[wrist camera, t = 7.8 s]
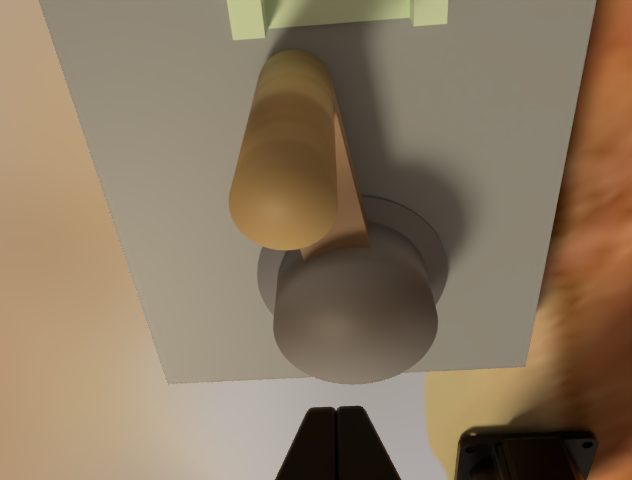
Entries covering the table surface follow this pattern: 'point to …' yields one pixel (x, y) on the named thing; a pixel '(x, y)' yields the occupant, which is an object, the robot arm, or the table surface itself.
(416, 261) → the cam lever
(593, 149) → the table surface
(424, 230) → the stand base
